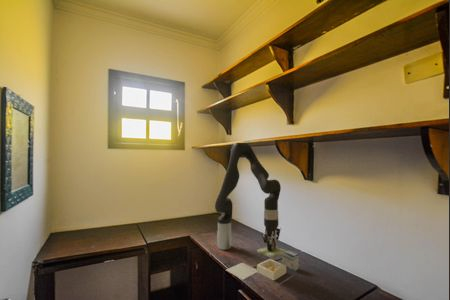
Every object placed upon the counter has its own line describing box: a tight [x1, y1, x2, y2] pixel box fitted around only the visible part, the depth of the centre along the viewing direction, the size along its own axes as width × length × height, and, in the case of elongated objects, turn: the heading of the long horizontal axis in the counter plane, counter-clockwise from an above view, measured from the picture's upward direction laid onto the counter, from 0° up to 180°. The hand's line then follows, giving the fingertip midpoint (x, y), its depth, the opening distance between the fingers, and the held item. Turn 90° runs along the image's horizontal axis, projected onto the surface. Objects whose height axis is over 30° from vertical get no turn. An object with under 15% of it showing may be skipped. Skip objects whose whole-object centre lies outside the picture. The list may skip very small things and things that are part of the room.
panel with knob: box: [225, 262, 257, 281], centre depth 126 cm, size 13×13×1 cm
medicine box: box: [281, 249, 299, 272], centre depth 130 cm, size 8×4×9 cm, turn 45°
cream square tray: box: [256, 258, 287, 281], centre depth 124 cm, size 11×11×4 cm
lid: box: [256, 241, 287, 260], centre depth 124 cm, size 11×11×6 cm
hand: (271, 249), depth 124 cm, fingers closed on lid, 3 cm apart
